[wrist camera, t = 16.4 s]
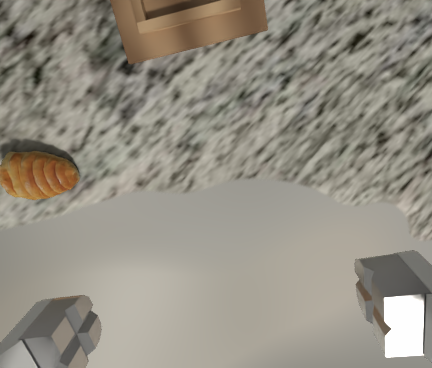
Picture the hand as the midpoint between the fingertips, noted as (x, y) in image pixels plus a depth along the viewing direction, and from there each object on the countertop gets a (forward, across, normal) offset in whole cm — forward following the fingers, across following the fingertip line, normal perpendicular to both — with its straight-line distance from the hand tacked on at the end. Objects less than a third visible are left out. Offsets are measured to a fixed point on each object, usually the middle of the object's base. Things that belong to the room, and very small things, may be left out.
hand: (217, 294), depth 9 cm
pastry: (+29, +26, 0) cm, 39 cm away
